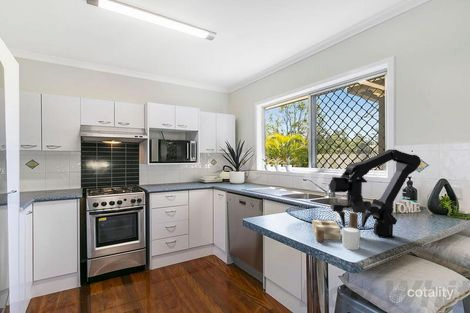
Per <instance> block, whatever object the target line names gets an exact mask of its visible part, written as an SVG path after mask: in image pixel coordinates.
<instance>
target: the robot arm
mask: <svg viewBox="0 0 470 313" xmlns="http://www.w3.org/2000/svg"><path fill="white" fill-rule="evenodd" d="M391 161H393V162H395V172H394V174H393V176H392V177H391V179H390V181H389V182H388V185H387V186H386V188H385V190H384V191H383V193H382V195H381V197H380V198H378V199H376V198H374V199H373V200H372V202H371V201H370V200H369V201H367V200H365V201H364V199H363V195H362V194H363V192H362V191H363V184H364V183H365V184H366V183H367V182H368V180H366V179H365V178H364V176H366V175H367V174H368V173H369V172H370V171H371V170H372V169H375V168H377V167H379V166H381V165H384V164H385V163H388V162H391ZM421 164H422V160H421V158H420V156H418V155H417V154H410V153H406V152H403V151H400V150H399V149H386V150H385V151H383V152H381V153H378V154H377V155H375V156H373V157H370V158H369V159H368V158H367V159H365V160H364V161H363V160H361V161H356V162H352V163H349V164H347V166H346V169H345V171H343V173H342V174H341V175H340V176H332V178H331V180H330V183H329V190H330V192H331V193H346V196H347V197H346V200H347V201H346V204H342V203H340V202H330V203H331V204H330V209H331V211H333V212H336V213H338V216H339V218H340V220H341V221H340V222H341V224H342V227H346V220H345V217H346V216H345V215H346V212H345V210H346V211H347V210H348V211H349V210H352V213H356V214H358V213H359V214H361V228H365V226H366V223H367V221H368V220H369V217H371V216H372V218H373V220H374V223H373V231H372V232H373V233H374V235H376V236H377V237H379V238H388V239H389V238H391V239H393V238H396V237H395V236H394V234H393V233H394V225H396V224H397V222H398V219H397V218H396V217H395V216H394V215H393V212H394V202H395V200H396V198H397V196H398V195H399V193H400V191H401V189H402V187H403V185H404V184H405V182H406V181H407V178H408V177H409V176H410V174H412V173H414V172H415V171H417V169H418V168H419V167H420V166H421Z"/></svg>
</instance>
